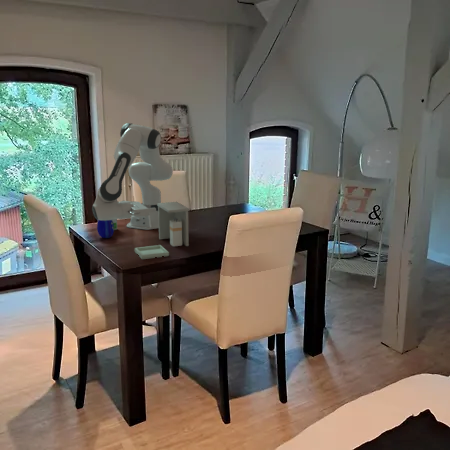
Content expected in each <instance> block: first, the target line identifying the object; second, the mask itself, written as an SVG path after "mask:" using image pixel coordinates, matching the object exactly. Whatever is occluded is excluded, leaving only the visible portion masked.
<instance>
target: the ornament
mask: <svg viewBox="0 0 450 450" xmlns="http://www.w3.org/2000/svg"><path fill="white" fill-rule="evenodd" d="M96 230H97V234H98V235H99V236H100V238H103V239H110V238H111V237H112V236H113V235H114V232H115V230H114V224H113V221H112V220H97V224H96Z"/></svg>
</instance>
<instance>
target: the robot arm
mask: <svg viewBox="0 0 450 450" xmlns="http://www.w3.org/2000/svg"><path fill="white" fill-rule="evenodd" d="M119 135H120V138H119V140H118V142H117V144H116V147H115V150H114V152H113V153H114V154H113V158H114V160H115V162H114V165H113V167H112V170H111V172H110V175H109V176H108V177H107V179H105V180H104V181H103V182H102V183H101V185H100V187H99V188H98V190H97V191H96V198H95V200H94V202H93V204H92V207H91V211H92V214H93V216H94V218H95V219H96V220H97V221H98V220H114V219H117V220H126V219H130V222H128V223H127V224H126V228H129V229H137V230H143V231H144V230H146V231H148V230H149V231H150V230H153V229H154V230H156V229H159V217H158V206H157V203H162V193H161V189H160V188H159V187H157V186H155V185H153V184H151V181H156V182H157V181H161V182H162V181H167V180H170V179H171V178H172V176H173V173H174V171H173V167H172V164H171V163H169V162H168V161H167V160H166V161H165V160H164V159H163V157H161V153H160V149H159V148H160V143H161V140H162V134H161V133H160V131H158V130H157V129H154V128H153V127H151V126H145V125H140V124H133V123H131V122H130V123H129V122H128V123H125V124H123V125H122V126H121V129H120V133H119ZM138 153H139V157H140V159H141V160H142V161H139V162H134V161H135V159H136V158H137V156H138ZM127 170H128V175H129V177H130V178H131V180H132V181H134V182H135V183H136V184H137V185H138V187H139V188H140V191H141V200H142V202H140V201H130V200H121V201H120V200H119V201H118V199H119V198H120V197H121V195H122V191H123V180H124V177H125V175H126V173H127Z"/></svg>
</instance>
